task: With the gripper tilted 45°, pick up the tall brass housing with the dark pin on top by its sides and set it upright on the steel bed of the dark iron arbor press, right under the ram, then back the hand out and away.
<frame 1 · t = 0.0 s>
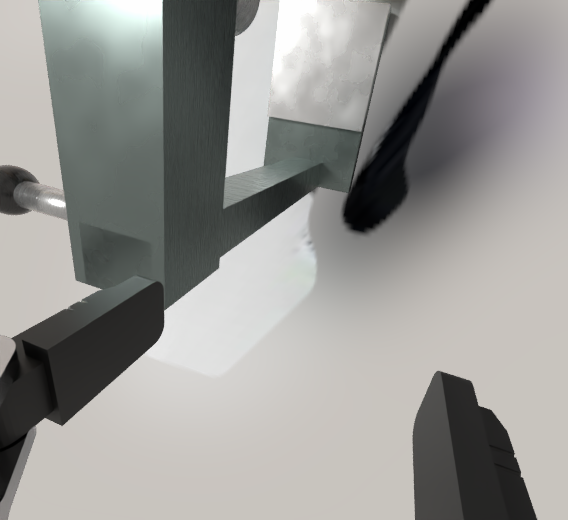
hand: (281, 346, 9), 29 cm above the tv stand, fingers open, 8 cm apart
arbor press: (326, 68, 32), on the tv stand
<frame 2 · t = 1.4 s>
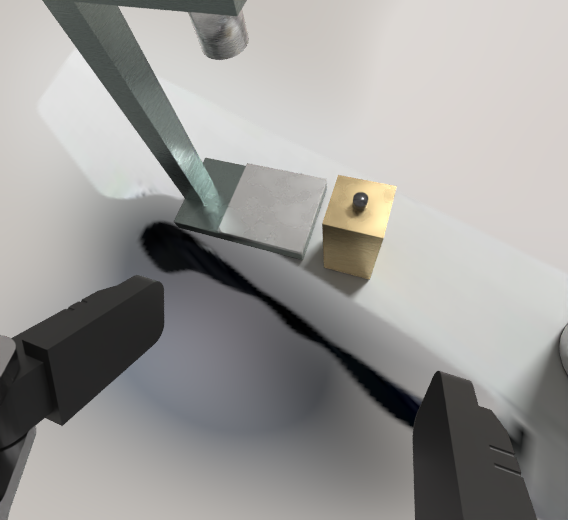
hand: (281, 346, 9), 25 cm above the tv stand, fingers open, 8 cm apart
brass housing: (352, 253, 37), on the tv stand
arbor press: (275, 214, 40), on the tv stand
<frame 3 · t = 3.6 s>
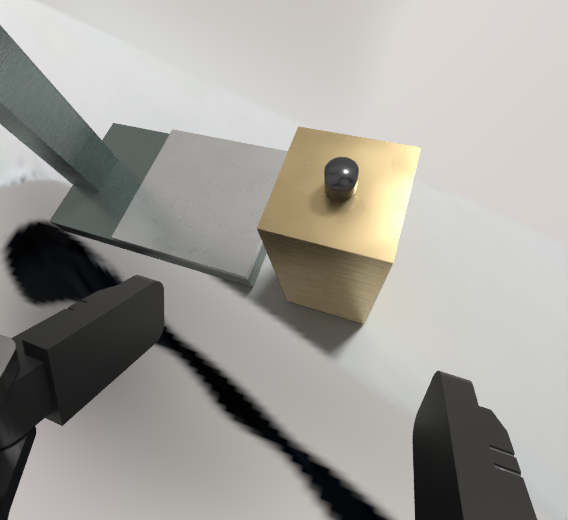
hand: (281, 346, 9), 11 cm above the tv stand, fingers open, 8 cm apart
brass housing: (335, 276, 22), on the tv stand
arbor press: (214, 210, 25), on the tv stand
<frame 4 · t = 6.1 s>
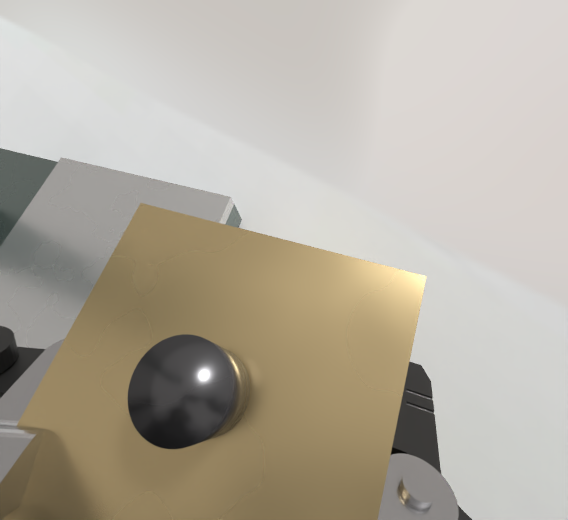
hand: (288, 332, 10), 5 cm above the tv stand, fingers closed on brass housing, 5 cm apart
brass housing: (287, 396, 14), on the tv stand, touching gripper
arbor press: (117, 277, 17), on the tv stand
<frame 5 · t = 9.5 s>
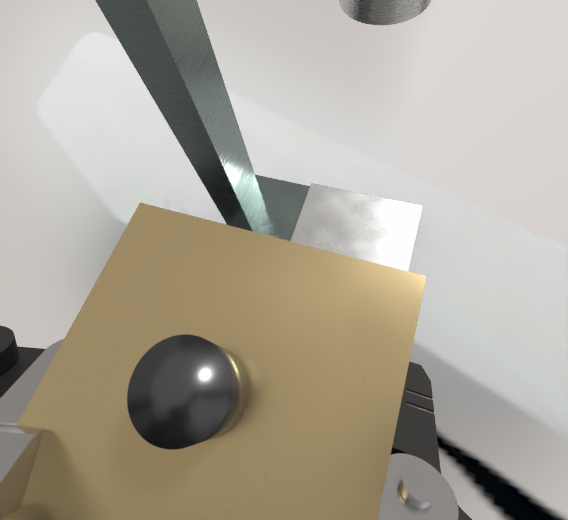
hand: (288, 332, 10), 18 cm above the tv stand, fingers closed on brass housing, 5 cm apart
brass housing: (287, 396, 14), point 13 cm above the tv stand, touching gripper
arbor press: (349, 250, 30), on the tv stand
when the fingers open (8 cm above the tv stand, at t = 13.1 s): brass housing drops 1 cm, resting on arbor press.
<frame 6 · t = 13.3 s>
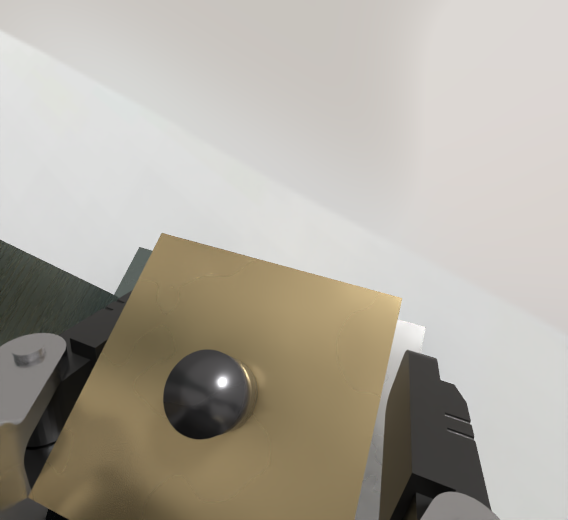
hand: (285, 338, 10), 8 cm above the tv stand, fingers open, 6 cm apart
brass housing: (287, 396, 15), point 2 cm above the tv stand, touching arbor press
arbor press: (294, 396, 17), on the tv stand
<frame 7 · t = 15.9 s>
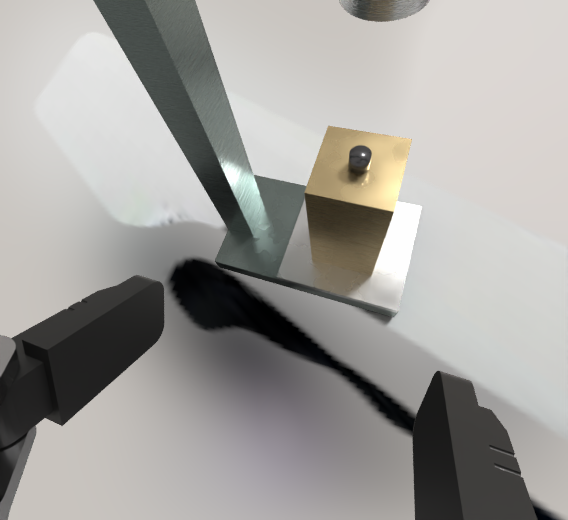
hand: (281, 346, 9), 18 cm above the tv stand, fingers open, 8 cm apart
brass housing: (348, 241, 28), point 2 cm above the tv stand, touching arbor press
arbor press: (348, 251, 30), on the tv stand
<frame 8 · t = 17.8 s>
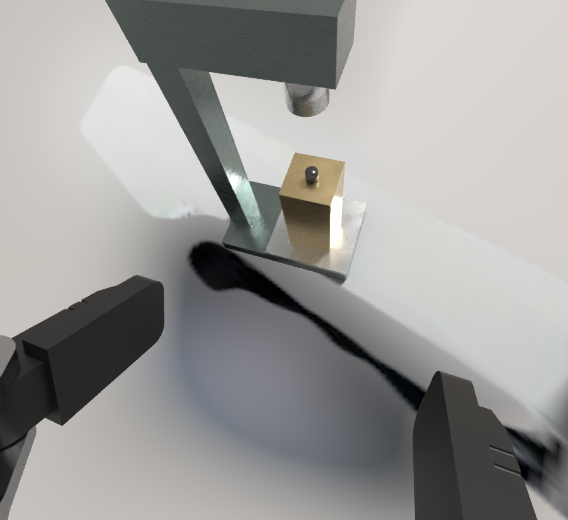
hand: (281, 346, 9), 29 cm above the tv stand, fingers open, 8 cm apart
brass housing: (315, 227, 41), point 2 cm above the tv stand, touching arbor press
arbor press: (317, 235, 43), on the tv stand
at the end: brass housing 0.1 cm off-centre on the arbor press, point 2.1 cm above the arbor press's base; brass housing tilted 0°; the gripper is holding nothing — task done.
